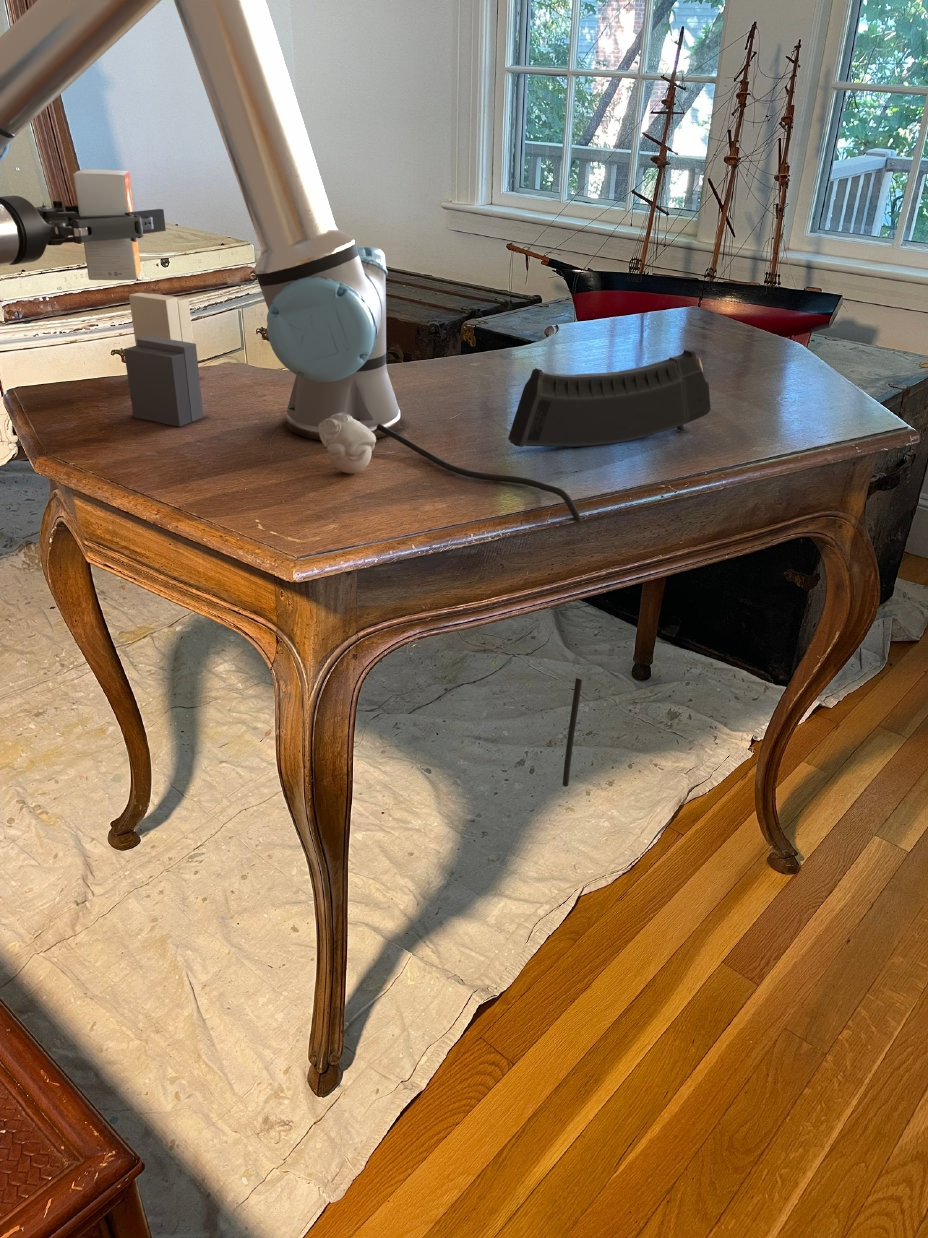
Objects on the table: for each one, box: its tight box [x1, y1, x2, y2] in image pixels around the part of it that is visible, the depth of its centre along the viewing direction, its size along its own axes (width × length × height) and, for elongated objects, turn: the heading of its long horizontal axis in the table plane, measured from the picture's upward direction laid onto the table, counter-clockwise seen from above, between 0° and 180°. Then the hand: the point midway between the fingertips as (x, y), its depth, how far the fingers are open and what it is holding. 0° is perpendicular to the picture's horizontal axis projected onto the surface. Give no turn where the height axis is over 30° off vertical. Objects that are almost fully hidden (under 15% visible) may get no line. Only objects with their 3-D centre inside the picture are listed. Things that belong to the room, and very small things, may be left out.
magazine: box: [507, 348, 712, 448], centre depth 121 cm, size 17×3×30 cm
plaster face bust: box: [318, 413, 377, 474], centre depth 108 cm, size 6×7×7 cm
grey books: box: [123, 336, 205, 427], centre depth 123 cm, size 8×5×10 cm, turn 65°
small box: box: [72, 168, 142, 281], centre depth 123 cm, size 8×6×13 cm
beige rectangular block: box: [128, 292, 194, 346], centre depth 139 cm, size 7×5×12 cm
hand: (133, 216), depth 127 cm, fingers closed on small box, 10 cm apart
